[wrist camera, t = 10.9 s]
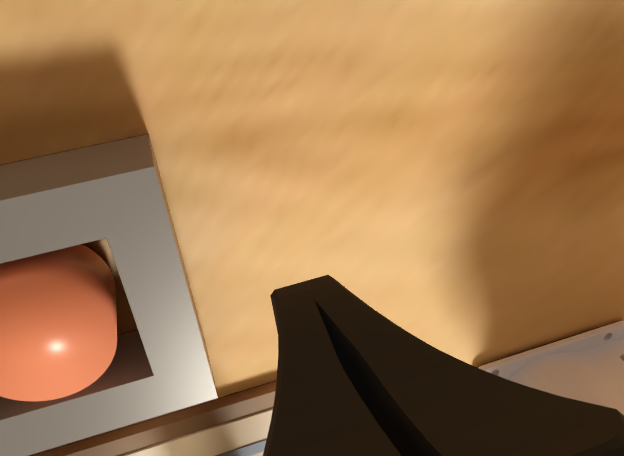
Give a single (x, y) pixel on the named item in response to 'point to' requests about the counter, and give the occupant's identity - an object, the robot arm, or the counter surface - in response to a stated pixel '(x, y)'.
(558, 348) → the robot arm
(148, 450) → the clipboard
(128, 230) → the button housing
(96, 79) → the counter surface
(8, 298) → the button
